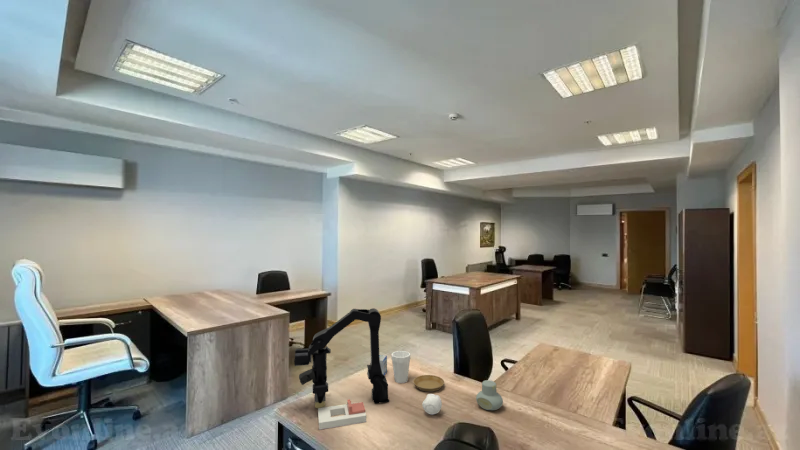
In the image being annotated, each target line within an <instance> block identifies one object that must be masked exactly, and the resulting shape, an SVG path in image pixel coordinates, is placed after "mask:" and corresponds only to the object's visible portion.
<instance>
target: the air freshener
mask: <svg viewBox="0 0 800 450" xmlns="http://www.w3.org/2000/svg"><path fill="white" fill-rule="evenodd" d="M475 400H476V403H477V405H478V406H479V407H480V408H482V409H484V410H485V411H496V410H498V409H500V408H501V407H502V406H503V403H504V398H503V397H502V395H501V394H500V393H499V392H498V391H497V383H496V382H495V381H492V380H489V379H488V380H487V379H486V380H483V381H482V382H481V391H479V392H477V394H476V396H475Z"/></svg>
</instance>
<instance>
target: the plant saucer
mask: <svg viewBox="0 0 800 450" xmlns="http://www.w3.org/2000/svg"><path fill="white" fill-rule="evenodd" d="M412 382H413V384H414V386H415V387H416V388H417V389H419V390H420V391H423V392H428V393H429V392H437V391H439V390H440V389H441V388H442V387H443V386H444V384H445V380H444V379H443V378H442V377H440V376H437V375H433V374H432V375H431V374H424V375H419V376H416V377H415V378H414V379H413V381H412Z"/></svg>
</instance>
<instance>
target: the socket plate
mask: <svg viewBox="0 0 800 450" xmlns="http://www.w3.org/2000/svg"><path fill="white" fill-rule="evenodd" d="M360 402H361V401H359V402H357V403H360ZM353 403H354V402H351V404H353ZM317 420H318V430H325V429H331V428H338V427H343V426H345V427H346V426H350V425H354V424H355V425H356V424H362V423H366V422H367V413H366V412H362V413H356V414H349V412H348V407H347V403H346V404H345V403H344V404H339V405H331V406H325V407H321V408H317Z"/></svg>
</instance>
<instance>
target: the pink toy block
mask: <svg viewBox="0 0 800 450" xmlns="http://www.w3.org/2000/svg"><path fill="white" fill-rule="evenodd" d="M359 402H360V403H358V402H352V401H351V399H350V398H349V399H347V400H346V404H347V407H348V412H349V414H356V413H362V412H365V413H366V408H365V405H364V401H359ZM351 403H353V404H351Z"/></svg>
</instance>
